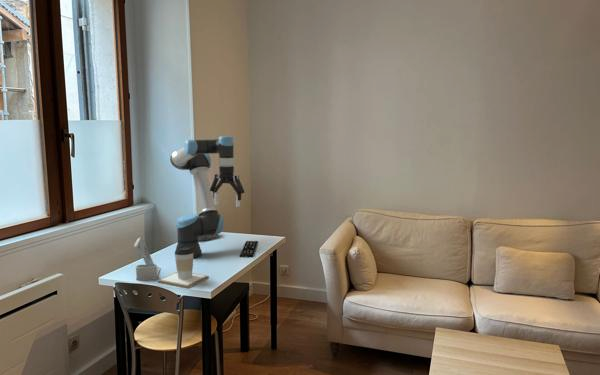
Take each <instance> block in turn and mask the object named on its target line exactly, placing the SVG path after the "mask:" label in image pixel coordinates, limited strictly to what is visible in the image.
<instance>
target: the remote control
mask: <svg viewBox="0 0 600 375" xmlns="http://www.w3.org/2000/svg"><path fill="white" fill-rule="evenodd" d="M258 244H259V241H258V240H246V241H245V243H244V244H243V247H242V249H241V252H240V254H239V258H253V257H254V256H255V253H256V249H257V247H258Z"/></svg>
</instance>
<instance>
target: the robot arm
mask: <svg viewBox="0 0 600 375" xmlns="http://www.w3.org/2000/svg"><path fill="white" fill-rule="evenodd" d="M234 149H235V148H234V137H233V136H229V135H227V136H224V135H222V136H219V137H218V139H217V138H215V139H187V140H185V141H184V146H183V147H182V148H181V149H177V150H175V151H174V152H172V153H171V155H170V157H169V158H170V159H169V160H170V163H171V165H172V166H173V167H174V168H175V169H177V170H181V171H189V174H190V175H192V176H193V181H194V186H195V192H196V196H197V202H198V206H199V211H200V212H199V213H198V214H196V213H191V214H185V215H182V216H179V217H178V218H177V220H176V229H177V230H176V231H177V245H176V246H175V247H176V248H175V251H176V250H177V248H178V247H183V246H188V247H189V246H191V248H192V249H193V251H194V252H193V259H196V258H200V257H201V256H202V255H203V252H202V251H203V250H202V249H201V246H200V243H199V242H198V237H200V236H208V235H215V234H218V235H219V234H221V233H222V231H223V228H224V217H223V215H222V214H221V213H219V211H218V209H216V207H215V206H216V205H219V203H220V202H219V201H220V200H219V189H220V188H221V187H222V185H223V184H229V185H230V186H231V187H232V189H233V190H234V191H235V193H236V194H235V207H236V208H238V207H239V208H240V207H241V200H242V194H244V193H245V189H244V187H243V184H242V182H241V180H240V175H238V174H237V175H234V173H235V172H234V171H235V166H234V163H235V162H234V160H235V159H234ZM212 154H218V157H219V158H218V160H219V161H218V163H219V164H218V165H219V166H218V167H219V173H216V174H214V179H213V181H212V183H210V181H209V174H208V172H209V171H210V168H211V167H212V161H211V160H212V159H211V156H210V155H212ZM219 179H220V180H219ZM210 184H211V185H210ZM212 193H213V194H212Z"/></svg>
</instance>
